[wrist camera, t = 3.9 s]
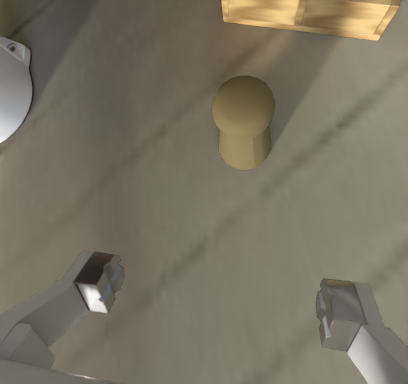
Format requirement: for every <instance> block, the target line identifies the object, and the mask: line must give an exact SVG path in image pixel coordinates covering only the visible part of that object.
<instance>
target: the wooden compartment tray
mask: <svg viewBox="0 0 408 384" xmlns="http://www.w3.org/2000/svg"><path fill="white" fill-rule="evenodd" d="M400 1H401V0H221V2H222V11H223V20H224V22H230V23H239V24H247V25H255V26H263V27H271V28H279V29H287V30H295V31H303V32H311V33H320V34H328V35H336V36H344V37H352V38H360V39H368V40H376V41H377V40H378V39H379V37H380V36H381V34H382V33H383V31H384V30H385V28H386V26H387V25H388V23H389V22H390V20H391V19H392V17H393V16H394V14H395V13H396V11H397V10H398V8H399V6H400Z"/></svg>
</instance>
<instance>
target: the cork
mask: <svg viewBox="0 0 408 384" xmlns="http://www.w3.org/2000/svg"><path fill="white" fill-rule="evenodd" d="M274 107H275V102H274V98H273V95H272V92H271V90H270V89H269V87H268V86H267V84H266V83H264V82H263V81H261V80H260V79H258V78H255V77H252V76H237V77H234V78H231V79H230V80H228V81H226V82H225V83H223V84H222V85H221V87H220V88H219V89H218V90H217V92H216V94H215V96H214V98H213V104H212V114H213V118H214V121H215V123H216V125H217V126H218V128H219V129H220V135H219V151H220V155H221V157H222V158H223V160H224V161H225V162H226V163H227V164H228V165H230V166H231V167H234V168H236V169H241V170H248V169H252V168H255V167H257V166H258V165H260V164H262V163H263V161H264V160H265V159H266V158H267V156H268V154H269V152H270V146H271V140H270V134H269V128H268V125H269V124H270V122H271V120H272V117H273V115H274Z"/></svg>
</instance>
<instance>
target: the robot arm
mask: <svg viewBox="0 0 408 384" xmlns="http://www.w3.org/2000/svg"><path fill="white" fill-rule="evenodd" d="M30 56H31V53H30V50H29V48H27V47H26V46H24V45H23V44H21V43H18V42H15V41H13V40H10V39H7V38H4V37H1V36H0V143H1V142H3V141H4V140H6V139H7V138H8V137H9V136H11V135H12V134H13V133H14V132H15V131H16V130H17V128H18V127H19V126H20V125H21V123H22V122H23V120H24V118H25V116H26V114H27V112H28V110H29V107H30V104H31V99H32V81H31V77H30V73H29V63H30ZM120 261H121V259H120V257H119V255H115V254H108V253H102V252H95V251H87V250H84V251H83V252H81V253H80V254H79V256H78V257H77V259H76V260H75V261H74V263H73V264H72V266H71V267H70V268H69V270H68V271H67V272H66V274H65V275H64V277H63V278H62V279H61V281H56V282H54V283H53V284H51V285H50V286H48V287H46V288H45V289H43V290H41V291H40V292H38V293H36V294H35V295H33V296H32V297H30V298H28V299H27V300H25V301H23V302H22V303H20V304H18V305H17V306H15V307H13V308H12V309H10V310H9V311H7V312H5V313H4V314H2V315H0V384H122V383H117V382H112V381H108V380H103V379H98V378H93V377H88V376H83V375H78V374H73V373H68V372H63V371H59V370H54V369H50V367H51V366H52V364H53V362H54V360H55V358H54V355H53V354H52V352H51V351H50V350H49V349H48V347H49V346H51V345H52V344H53V343H54V342H55V341H56V340H58V339H59V338H60V337H61V336H62V335H63V334H64V333H66V332H67V331H68V330H69V329H70V328H71V327H72V326H74V325H75V324H76V323H77V322H78V321H79V320H81V319H82V318H83V317H84V316H85V315H86V314H87V313H89V311H95V312H103V313H109V311H110V309H111V307H112V305H113V303H114V301H115V294H114V293H116V292H117V291H119V290H120V289H121V286H122V284H123V281H124V277H125V275H124V268H123V267H122V266H121V265H120V264H119V263H120ZM320 286H321V290H320V291H318V293H317V297H316V313H317V318H318V319H319V320H320V321H321V324H320V327H319V332H320V339H321V345H322V347H325V348H330V349H335V350H341V351H346V352H347V354H348V355H349V356H350V358H351V359H352V361H353V362H354V364H355V365H356V366H357V368H358V369H359V371H360V372H361V374H362V375H363V376H364V378H365V379H366V381H367V382H368V384H408V346H407V345H406V344H405V343H404V342H403V341H402V340H401V339H400V338H399V337H398V336H397V335H396V334H395V333H394V332H393V331H392V330H391V329H390V328H386V327H385V326H384V323H383V321H382V318H381V315H380V312H379V310H378V307H377V304H376V301H375V299H374V296H373V293H372V290H371V288H370V286H369V285H368V284H367V283H359V282H351V281H343V280H334V279H324V278H323V279H322V281H321V284H320Z"/></svg>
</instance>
